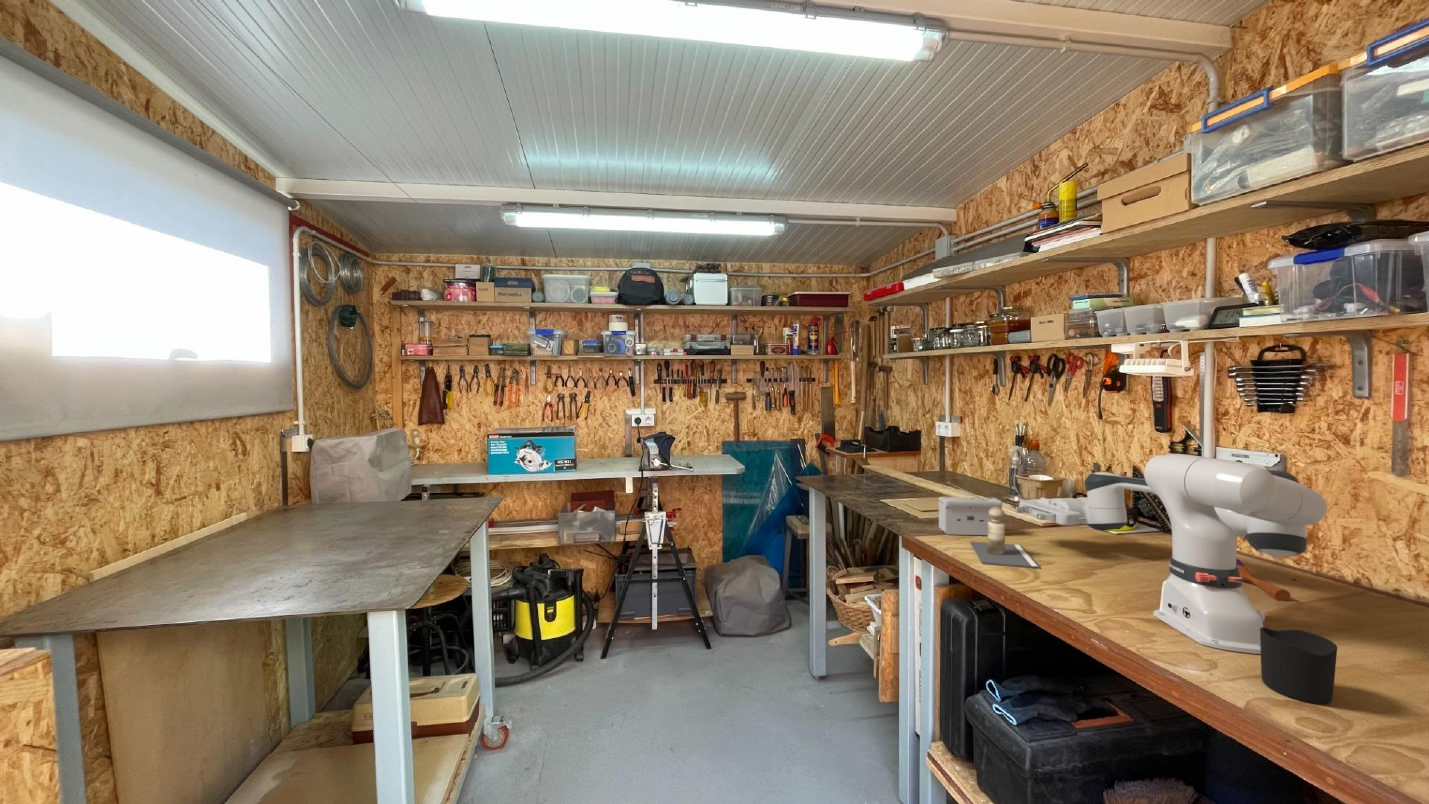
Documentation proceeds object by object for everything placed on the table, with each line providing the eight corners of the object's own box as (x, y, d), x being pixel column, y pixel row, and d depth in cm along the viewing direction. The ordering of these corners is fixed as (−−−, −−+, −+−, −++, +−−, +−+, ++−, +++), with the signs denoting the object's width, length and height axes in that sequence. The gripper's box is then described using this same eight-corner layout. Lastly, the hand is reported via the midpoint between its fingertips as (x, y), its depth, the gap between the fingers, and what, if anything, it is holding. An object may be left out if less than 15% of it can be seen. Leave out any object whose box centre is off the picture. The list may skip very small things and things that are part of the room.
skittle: (1006, 555, 169) (1006, 508, 169) (989, 554, 171) (989, 508, 170) (1002, 550, 174) (1003, 505, 174) (986, 549, 176) (986, 504, 175)
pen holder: (1332, 713, 89) (1334, 656, 89) (1254, 687, 97) (1255, 635, 96) (1338, 693, 95) (1339, 639, 94) (1263, 671, 102) (1265, 620, 102)
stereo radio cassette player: (995, 531, 199) (995, 479, 198) (1004, 537, 191) (1004, 483, 190) (938, 529, 202) (938, 478, 201) (944, 536, 194) (944, 482, 193)
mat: (1040, 568, 159) (1040, 566, 159) (982, 563, 164) (982, 561, 164) (1021, 546, 180) (1021, 545, 180) (970, 543, 185) (970, 541, 185)
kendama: (1267, 586, 134) (1209, 554, 154) (1270, 607, 135) (1212, 573, 154) (1294, 583, 133) (1233, 552, 153) (1297, 605, 134) (1235, 571, 153)
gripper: (1090, 529, 166) (1052, 531, 164) (1040, 513, 186) (1005, 515, 184) (1090, 509, 166) (1052, 511, 164) (1040, 496, 186) (1006, 497, 184)
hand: (1027, 513), depth 174 cm, fingers open, 8 cm apart
